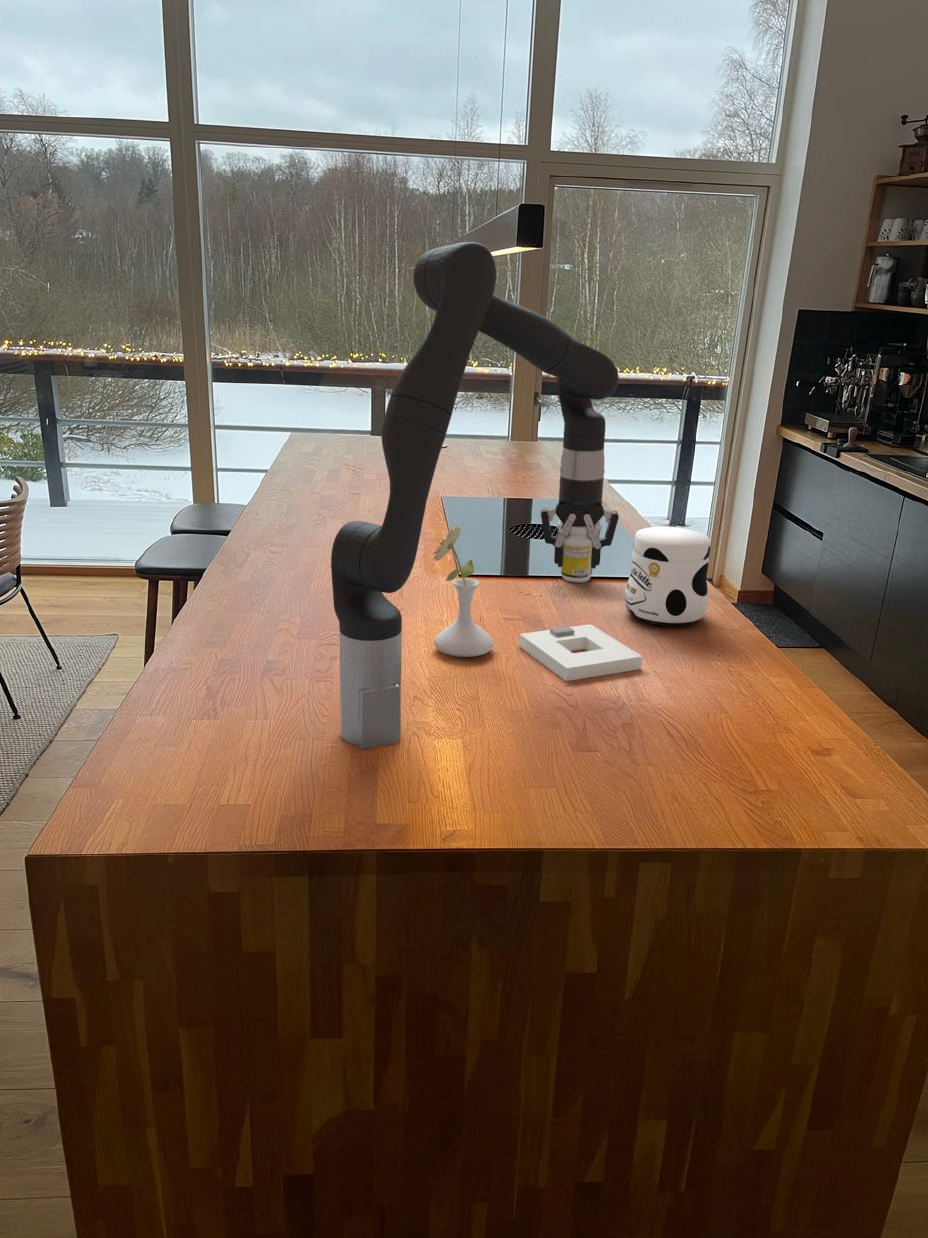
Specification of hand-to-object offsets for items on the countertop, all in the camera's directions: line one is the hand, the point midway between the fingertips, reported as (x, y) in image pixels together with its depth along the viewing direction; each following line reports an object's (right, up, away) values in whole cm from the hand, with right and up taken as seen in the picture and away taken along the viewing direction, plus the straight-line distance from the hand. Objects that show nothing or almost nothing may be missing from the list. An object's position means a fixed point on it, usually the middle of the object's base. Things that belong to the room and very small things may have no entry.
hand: (576, 566), depth 170 cm
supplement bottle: (0, -2, +1) cm, 2 cm away
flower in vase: (-21, -16, +10) cm, 28 cm away
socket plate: (+1, -17, +9) cm, 19 cm away
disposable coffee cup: (+6, 0, +56) cm, 56 cm away
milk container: (+22, -9, +32) cm, 40 cm away
